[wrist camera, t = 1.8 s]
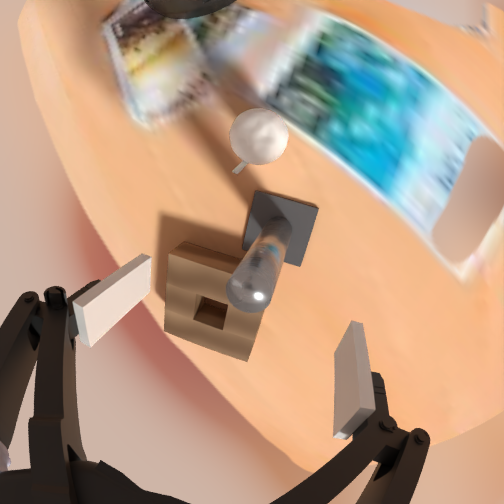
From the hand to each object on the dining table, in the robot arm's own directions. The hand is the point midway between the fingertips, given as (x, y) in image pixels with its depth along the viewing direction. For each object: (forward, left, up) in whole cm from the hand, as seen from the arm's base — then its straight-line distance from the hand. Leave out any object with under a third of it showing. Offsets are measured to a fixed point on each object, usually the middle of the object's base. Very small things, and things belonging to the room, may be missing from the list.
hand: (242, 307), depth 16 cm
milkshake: (-9, -3, -16) cm, 19 cm away
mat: (0, 0, -16) cm, 16 cm away
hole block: (+11, -5, -16) cm, 20 cm away
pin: (0, 0, -15) cm, 15 cm away
